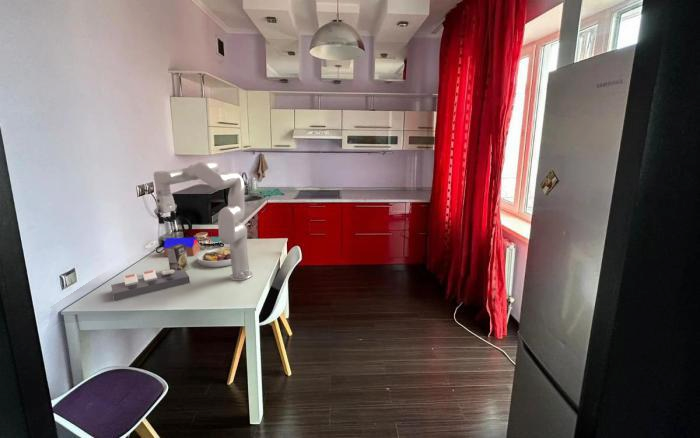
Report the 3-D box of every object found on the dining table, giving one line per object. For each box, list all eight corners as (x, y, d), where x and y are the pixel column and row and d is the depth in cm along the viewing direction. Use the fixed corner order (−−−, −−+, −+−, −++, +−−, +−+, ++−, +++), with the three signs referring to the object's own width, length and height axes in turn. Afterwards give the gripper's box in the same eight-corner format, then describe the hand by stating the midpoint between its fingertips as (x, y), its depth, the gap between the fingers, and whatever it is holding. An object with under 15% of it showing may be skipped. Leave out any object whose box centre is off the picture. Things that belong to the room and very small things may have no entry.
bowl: (191, 261, 243) (190, 249, 241) (234, 250, 262) (233, 240, 260) (209, 272, 221) (207, 260, 219) (255, 260, 240) (253, 248, 239)
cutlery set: (230, 237, 295) (230, 235, 295) (221, 249, 266) (220, 246, 266) (205, 239, 294) (204, 236, 293) (192, 251, 265) (192, 248, 264)
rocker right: (175, 273, 205) (174, 269, 205) (163, 276, 202) (162, 272, 202) (173, 272, 212) (172, 269, 212) (161, 275, 209) (160, 271, 209)
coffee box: (179, 274, 219) (175, 248, 215) (170, 274, 220) (166, 248, 216) (189, 269, 227) (185, 244, 224) (179, 268, 229) (176, 243, 225)
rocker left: (138, 284, 196) (138, 281, 195) (125, 287, 193) (125, 284, 192) (136, 276, 202) (136, 273, 201) (123, 279, 199) (123, 276, 198)
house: (172, 251, 264) (170, 236, 262) (200, 250, 264) (198, 235, 262) (164, 257, 252) (162, 240, 250) (193, 256, 252) (191, 239, 250)
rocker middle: (157, 280, 201) (157, 277, 200) (145, 283, 198) (144, 280, 197) (154, 273, 207) (154, 269, 206) (142, 275, 204) (142, 272, 203)
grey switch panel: (190, 283, 206) (189, 275, 205) (114, 301, 186) (112, 293, 185) (184, 275, 217) (183, 268, 216) (112, 291, 197) (111, 284, 196)
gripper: (157, 195, 204) (162, 225, 208) (179, 190, 221) (183, 218, 224) (146, 195, 206) (151, 224, 210) (168, 190, 222) (172, 218, 226)
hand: (167, 221), depth 217 cm, fingers open, 9 cm apart
